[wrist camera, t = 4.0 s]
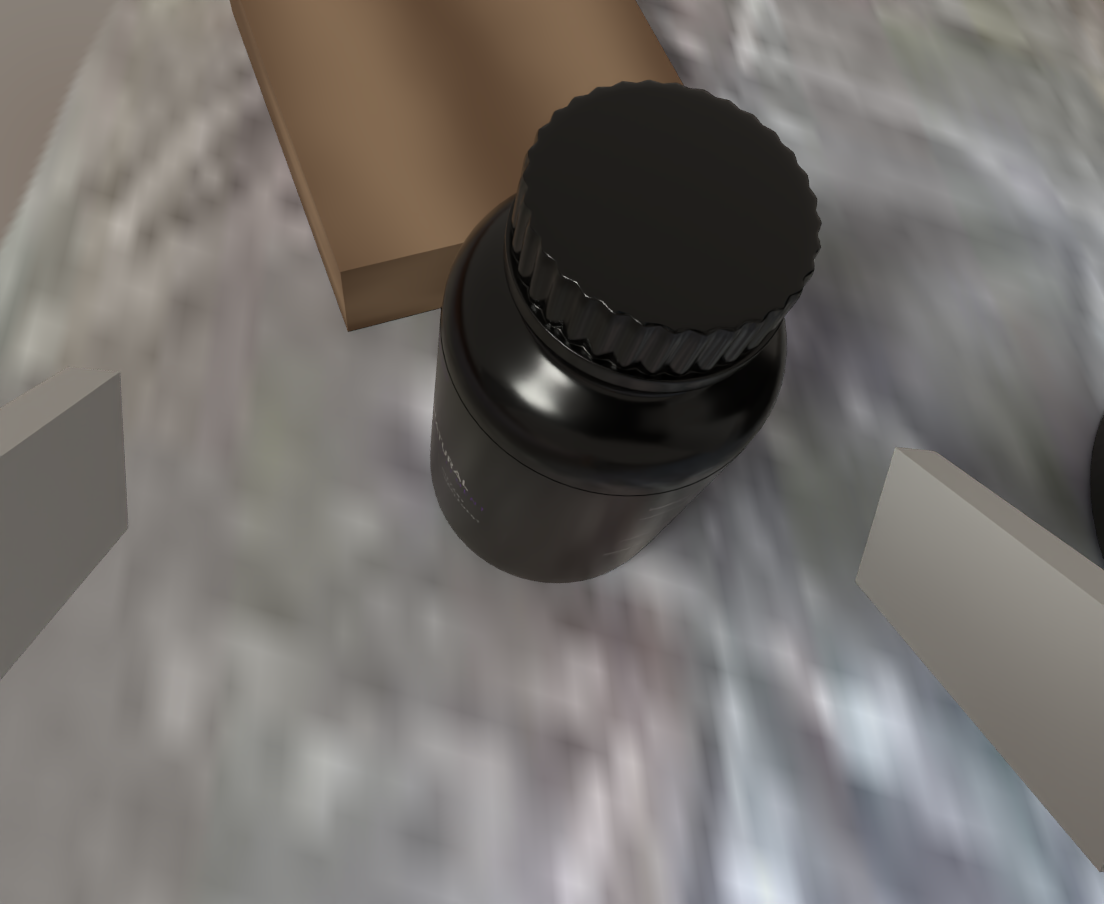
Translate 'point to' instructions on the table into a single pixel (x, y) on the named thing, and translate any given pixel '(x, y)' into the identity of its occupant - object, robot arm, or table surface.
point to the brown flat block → (423, 120)
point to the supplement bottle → (616, 327)
